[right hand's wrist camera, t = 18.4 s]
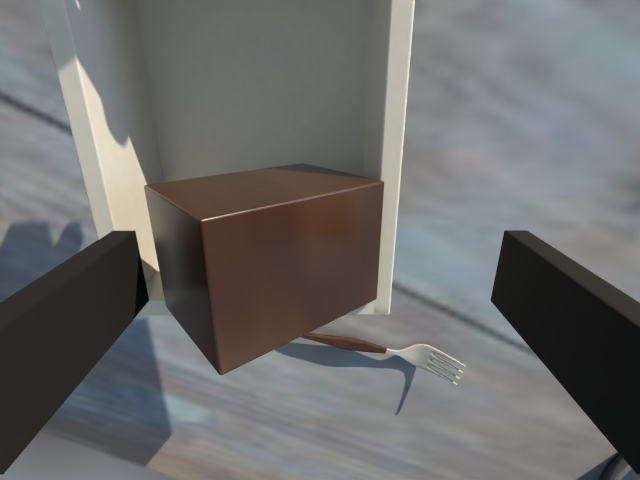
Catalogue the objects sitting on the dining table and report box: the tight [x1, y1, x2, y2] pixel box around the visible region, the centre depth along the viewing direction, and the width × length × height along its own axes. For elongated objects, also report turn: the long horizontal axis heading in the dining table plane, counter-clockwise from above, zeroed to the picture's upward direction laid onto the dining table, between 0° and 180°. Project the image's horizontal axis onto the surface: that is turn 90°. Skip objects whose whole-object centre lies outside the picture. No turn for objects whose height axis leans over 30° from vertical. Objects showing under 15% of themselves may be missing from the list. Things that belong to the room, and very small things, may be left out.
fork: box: [301, 333, 466, 385], centre depth 33 cm, size 3×16×2 cm, turn 76°
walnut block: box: [144, 163, 384, 375], centre depth 14 cm, size 5×5×7 cm
